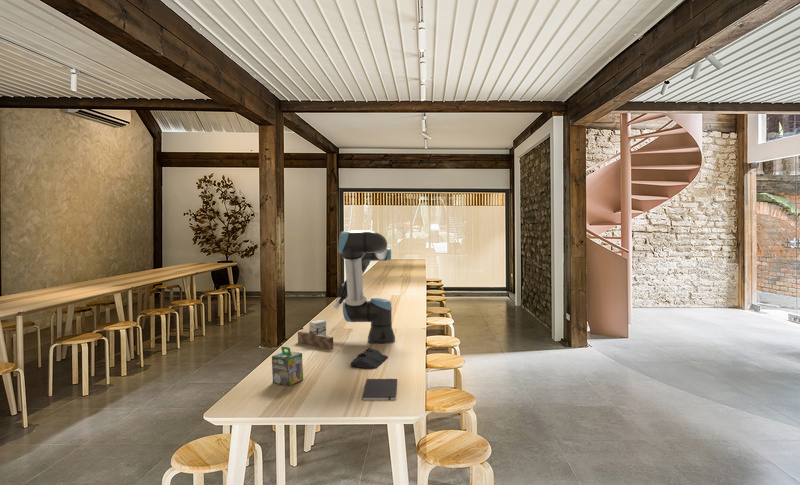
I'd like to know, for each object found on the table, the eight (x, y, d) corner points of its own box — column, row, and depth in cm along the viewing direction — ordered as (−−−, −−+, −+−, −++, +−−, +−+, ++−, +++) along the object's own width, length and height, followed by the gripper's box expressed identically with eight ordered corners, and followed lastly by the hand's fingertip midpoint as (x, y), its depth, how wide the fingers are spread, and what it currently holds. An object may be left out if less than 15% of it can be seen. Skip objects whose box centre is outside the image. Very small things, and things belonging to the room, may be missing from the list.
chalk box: (303, 380, 203) (303, 345, 202) (288, 386, 195) (287, 350, 195) (287, 376, 208) (286, 342, 207) (271, 383, 200) (270, 347, 199)
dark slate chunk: (344, 368, 220) (344, 358, 220) (360, 355, 241) (360, 346, 241) (376, 371, 216) (376, 360, 216) (389, 357, 237) (389, 348, 237)
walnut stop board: (333, 348, 253) (333, 337, 253) (330, 349, 251) (329, 338, 251) (301, 341, 268) (301, 330, 268) (298, 342, 267) (297, 331, 266)
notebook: (366, 382, 201) (361, 401, 180) (366, 378, 201) (361, 397, 180) (397, 382, 201) (396, 401, 179) (397, 378, 201) (396, 397, 179)
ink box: (315, 344, 262) (314, 323, 261) (309, 343, 265) (308, 321, 264) (326, 341, 268) (326, 320, 268) (320, 340, 271) (320, 319, 271)
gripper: (365, 280, 290) (346, 312, 277) (349, 279, 298) (330, 310, 285) (359, 272, 286) (340, 304, 273) (343, 271, 294) (324, 302, 281)
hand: (335, 307), depth 279 cm, fingers closed
